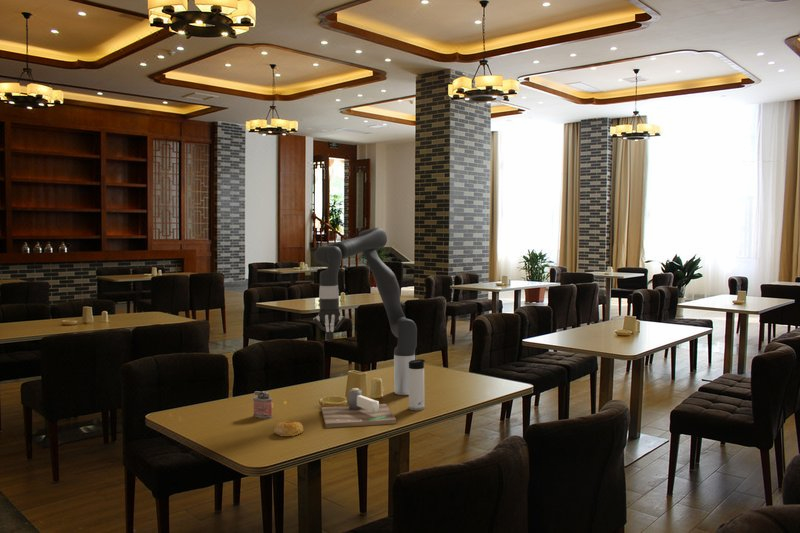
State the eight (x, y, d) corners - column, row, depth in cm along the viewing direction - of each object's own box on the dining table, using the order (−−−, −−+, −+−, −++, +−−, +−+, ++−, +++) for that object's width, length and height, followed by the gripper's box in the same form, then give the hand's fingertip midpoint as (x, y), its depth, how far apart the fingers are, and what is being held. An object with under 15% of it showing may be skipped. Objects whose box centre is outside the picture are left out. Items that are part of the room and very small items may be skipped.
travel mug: (423, 411, 260) (423, 361, 259) (407, 410, 261) (407, 360, 260) (426, 406, 266) (426, 358, 265) (410, 406, 268) (410, 357, 267)
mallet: (346, 407, 260) (346, 388, 259) (357, 405, 263) (357, 386, 262) (371, 418, 245) (371, 397, 245) (383, 415, 248) (383, 395, 248)
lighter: (274, 416, 254) (273, 391, 253) (269, 419, 251) (269, 393, 250) (256, 414, 257) (255, 389, 256) (251, 417, 253) (251, 391, 253)
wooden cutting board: (321, 411, 261) (321, 407, 261) (385, 407, 266) (385, 403, 266) (326, 427, 239) (325, 423, 239) (396, 423, 244) (396, 419, 243)
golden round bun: (310, 432, 234) (310, 418, 234) (287, 440, 226) (286, 426, 226) (291, 427, 241) (291, 414, 240) (268, 435, 232) (268, 421, 232)
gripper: (312, 298, 250) (313, 343, 251) (347, 297, 252) (347, 342, 253) (311, 296, 257) (312, 340, 258) (344, 295, 260) (345, 338, 261)
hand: (329, 341), depth 256 cm, fingers closed
